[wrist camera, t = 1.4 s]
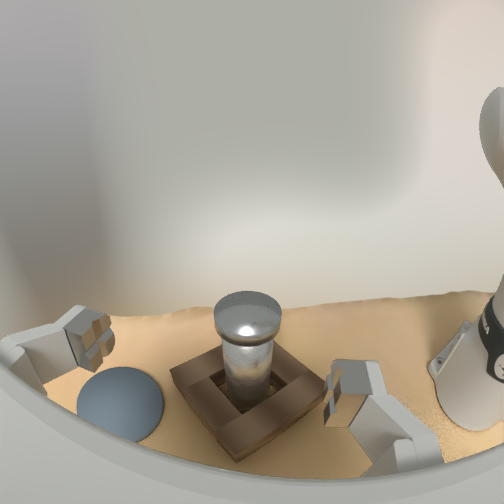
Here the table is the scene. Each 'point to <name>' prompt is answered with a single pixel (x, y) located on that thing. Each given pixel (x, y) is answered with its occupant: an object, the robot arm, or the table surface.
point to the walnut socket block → (258, 418)
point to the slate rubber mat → (122, 402)
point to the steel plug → (247, 344)
